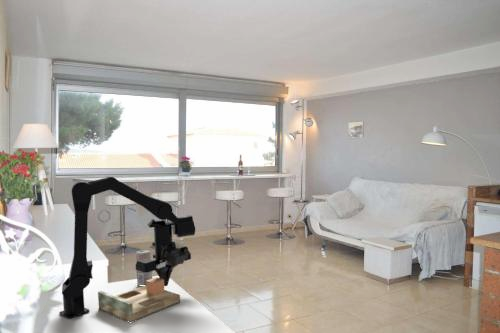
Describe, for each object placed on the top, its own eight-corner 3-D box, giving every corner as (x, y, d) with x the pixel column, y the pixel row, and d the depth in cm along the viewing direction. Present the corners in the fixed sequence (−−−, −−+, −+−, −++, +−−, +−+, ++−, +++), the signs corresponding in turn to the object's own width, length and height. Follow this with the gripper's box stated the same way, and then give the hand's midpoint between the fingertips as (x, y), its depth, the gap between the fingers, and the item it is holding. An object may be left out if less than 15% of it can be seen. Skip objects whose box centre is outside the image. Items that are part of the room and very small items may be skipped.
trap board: (98, 309, 122) (97, 291, 122) (148, 291, 136) (147, 275, 135) (130, 323, 111) (129, 304, 111) (180, 302, 125) (179, 285, 124)
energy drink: (148, 280, 147) (146, 248, 147) (155, 283, 143) (153, 250, 143) (134, 284, 144) (132, 251, 143) (141, 287, 140) (139, 254, 139)
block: (146, 292, 127) (145, 280, 127) (156, 289, 130) (156, 277, 130) (154, 295, 125) (153, 282, 125) (164, 291, 128) (163, 279, 128)
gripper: (154, 248, 118) (157, 300, 118) (201, 236, 132) (202, 282, 133) (133, 243, 125) (135, 292, 126) (179, 232, 139) (181, 276, 140)
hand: (165, 285), depth 131 cm, fingers closed
